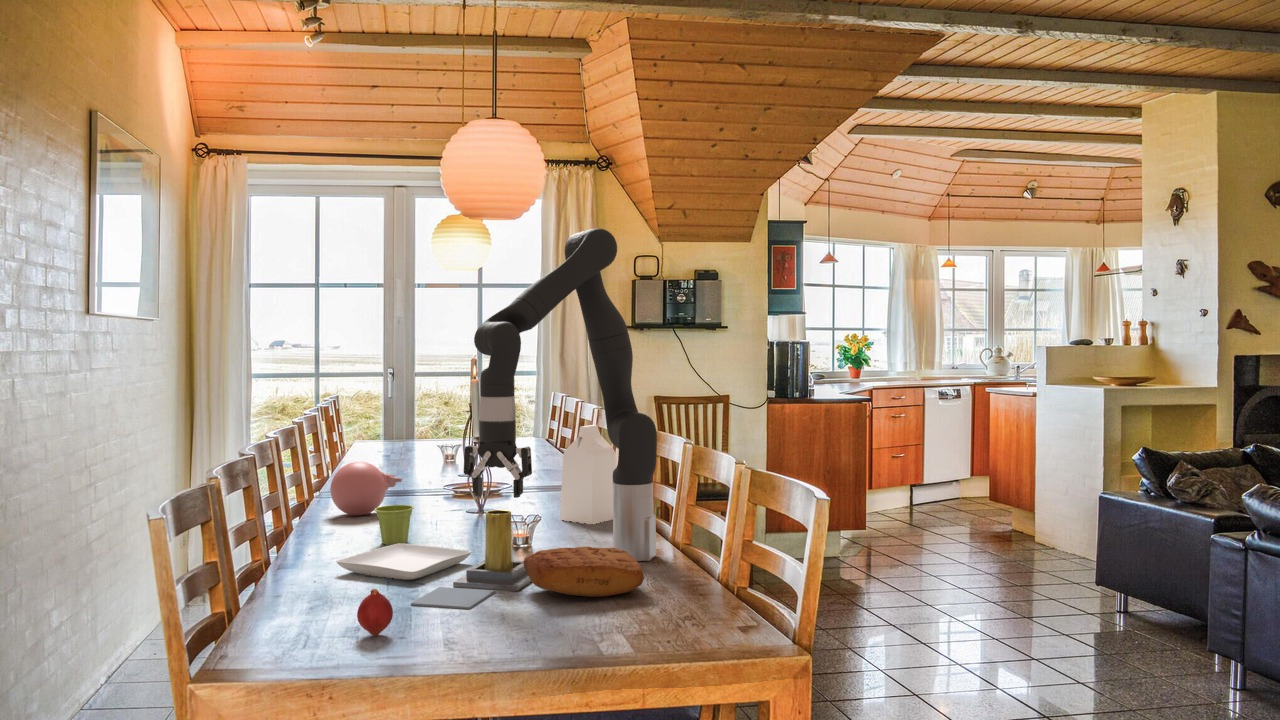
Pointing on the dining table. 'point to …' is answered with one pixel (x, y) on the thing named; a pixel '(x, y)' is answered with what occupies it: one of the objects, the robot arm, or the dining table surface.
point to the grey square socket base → (494, 578)
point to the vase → (498, 541)
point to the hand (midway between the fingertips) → (497, 496)
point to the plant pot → (394, 523)
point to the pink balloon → (360, 488)
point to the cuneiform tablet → (584, 571)
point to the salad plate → (403, 561)
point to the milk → (588, 478)
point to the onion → (375, 613)
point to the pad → (453, 598)
